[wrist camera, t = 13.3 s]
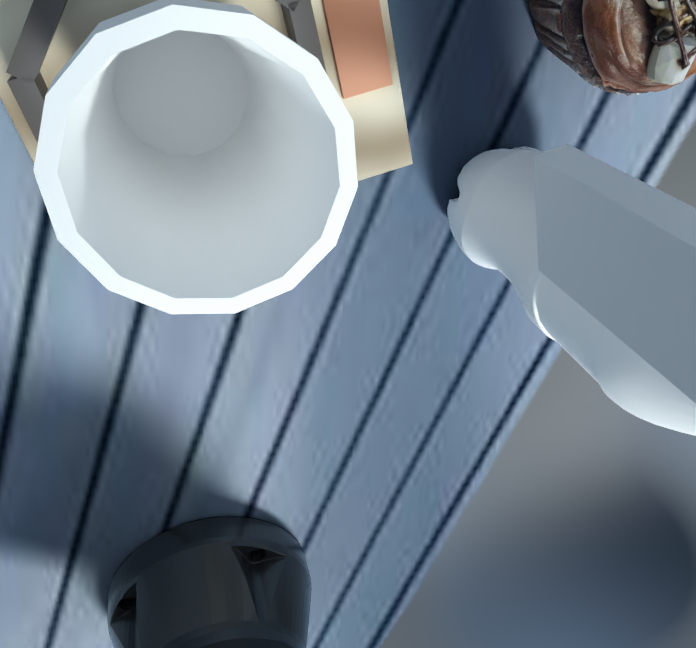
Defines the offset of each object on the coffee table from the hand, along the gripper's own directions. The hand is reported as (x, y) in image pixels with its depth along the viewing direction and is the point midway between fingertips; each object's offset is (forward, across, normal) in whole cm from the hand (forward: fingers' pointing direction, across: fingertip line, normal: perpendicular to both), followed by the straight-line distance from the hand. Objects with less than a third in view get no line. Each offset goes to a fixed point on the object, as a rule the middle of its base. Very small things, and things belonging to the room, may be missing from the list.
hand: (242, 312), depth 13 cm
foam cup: (+21, 0, 0) cm, 21 cm away
